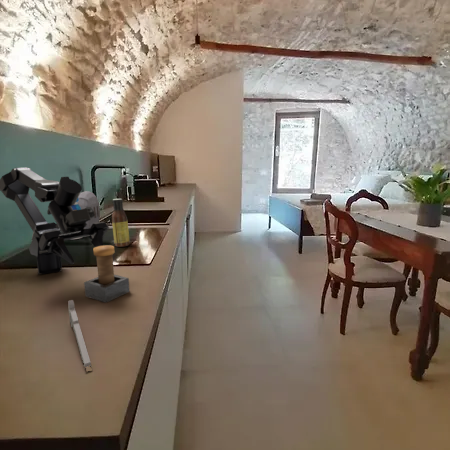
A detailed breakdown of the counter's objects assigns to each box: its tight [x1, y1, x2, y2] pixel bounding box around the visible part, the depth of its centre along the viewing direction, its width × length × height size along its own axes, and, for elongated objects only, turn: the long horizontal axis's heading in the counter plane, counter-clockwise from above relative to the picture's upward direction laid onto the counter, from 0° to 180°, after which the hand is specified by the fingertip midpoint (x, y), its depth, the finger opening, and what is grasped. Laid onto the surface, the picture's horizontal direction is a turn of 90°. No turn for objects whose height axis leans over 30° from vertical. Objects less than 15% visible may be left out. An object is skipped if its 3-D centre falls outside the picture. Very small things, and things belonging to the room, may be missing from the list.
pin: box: [93, 244, 116, 285], centre depth 87 cm, size 5×5×13 cm
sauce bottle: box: [111, 198, 130, 248], centre depth 136 cm, size 7×6×20 cm
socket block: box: [83, 274, 130, 303], centre depth 88 cm, size 8×8×4 cm
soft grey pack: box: [77, 190, 101, 230], centre depth 171 cm, size 15×8×20 cm, turn 172°
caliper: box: [67, 299, 92, 367], centre depth 64 cm, size 20×1×6 cm, turn 32°
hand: (88, 258), depth 91 cm, fingers open, 9 cm apart
